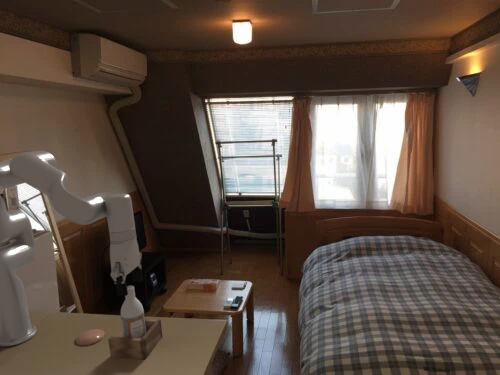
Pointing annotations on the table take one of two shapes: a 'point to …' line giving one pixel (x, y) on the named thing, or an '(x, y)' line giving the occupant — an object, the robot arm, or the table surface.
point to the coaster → (90, 337)
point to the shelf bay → (137, 342)
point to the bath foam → (132, 316)
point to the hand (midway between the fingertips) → (130, 288)
